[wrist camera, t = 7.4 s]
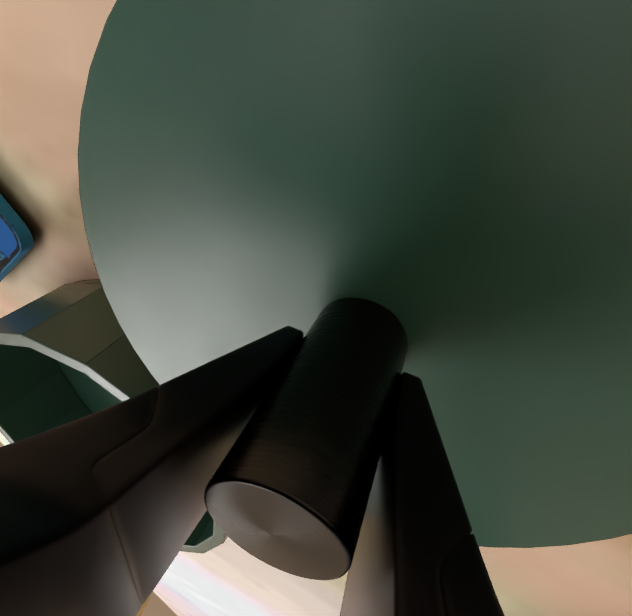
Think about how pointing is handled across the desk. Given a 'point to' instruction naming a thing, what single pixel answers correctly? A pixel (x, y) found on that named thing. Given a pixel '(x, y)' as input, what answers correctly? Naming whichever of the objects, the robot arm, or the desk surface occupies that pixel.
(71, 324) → the tin
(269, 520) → the tin lid
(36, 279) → the desk surface
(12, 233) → the smartphone
